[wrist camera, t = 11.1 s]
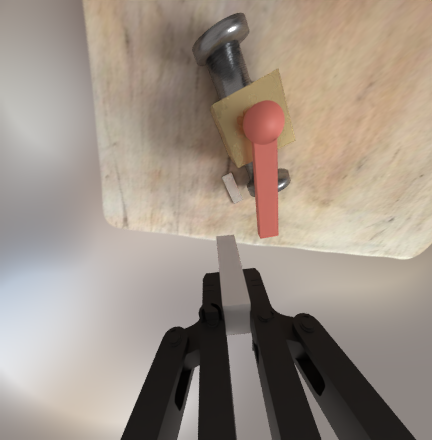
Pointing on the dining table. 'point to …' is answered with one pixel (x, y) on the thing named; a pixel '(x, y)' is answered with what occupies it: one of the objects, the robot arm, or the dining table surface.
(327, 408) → the robot arm
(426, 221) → the dining table surface
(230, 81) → the valve
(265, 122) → the lever
